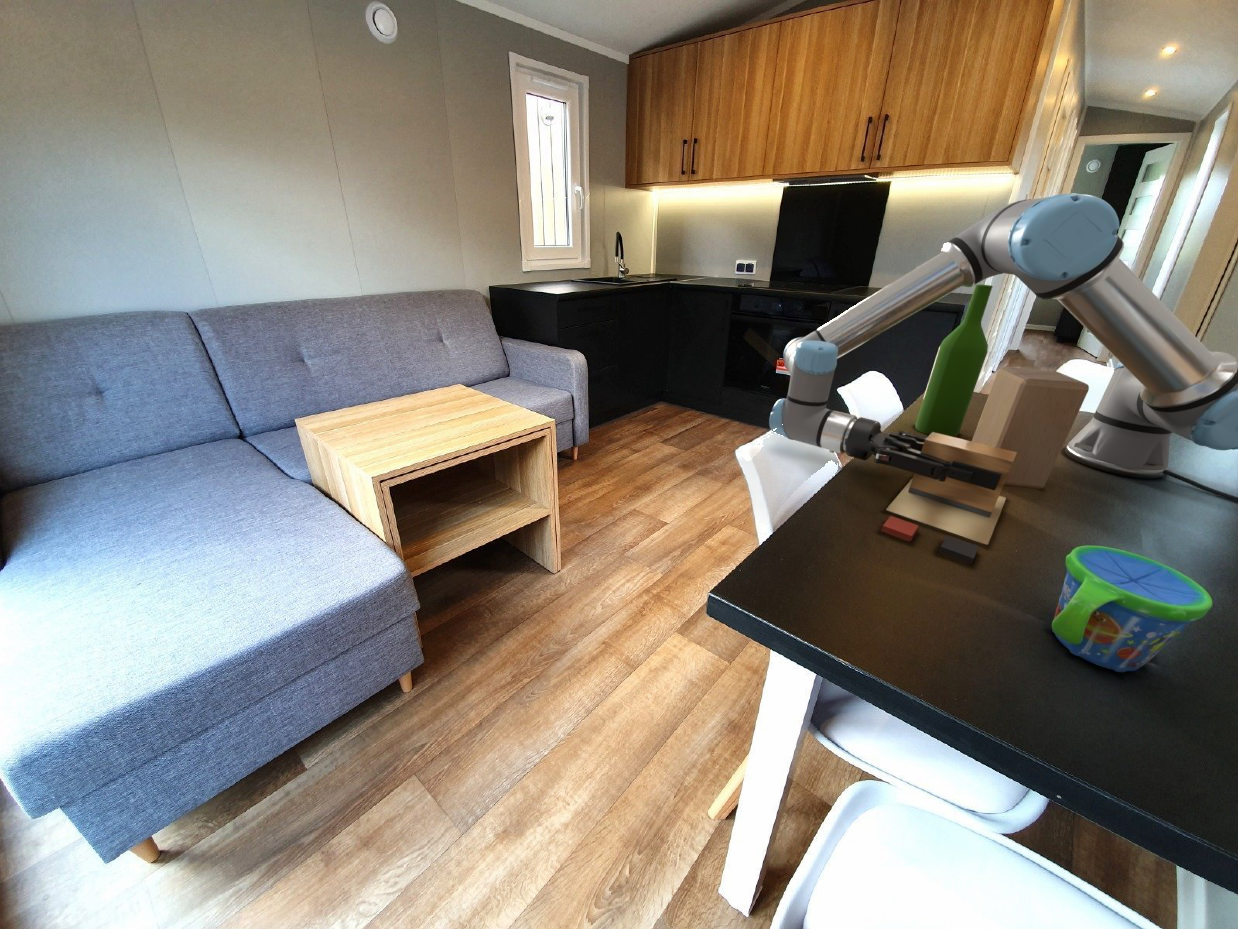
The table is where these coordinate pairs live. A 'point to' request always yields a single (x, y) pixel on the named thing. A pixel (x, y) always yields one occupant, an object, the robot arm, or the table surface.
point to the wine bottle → (956, 371)
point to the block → (1030, 420)
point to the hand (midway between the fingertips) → (1000, 476)
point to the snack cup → (1123, 607)
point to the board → (947, 515)
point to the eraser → (960, 491)
